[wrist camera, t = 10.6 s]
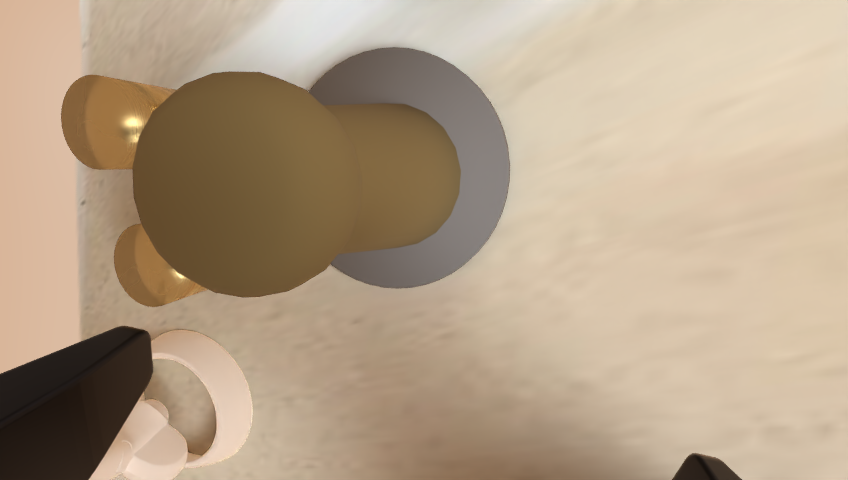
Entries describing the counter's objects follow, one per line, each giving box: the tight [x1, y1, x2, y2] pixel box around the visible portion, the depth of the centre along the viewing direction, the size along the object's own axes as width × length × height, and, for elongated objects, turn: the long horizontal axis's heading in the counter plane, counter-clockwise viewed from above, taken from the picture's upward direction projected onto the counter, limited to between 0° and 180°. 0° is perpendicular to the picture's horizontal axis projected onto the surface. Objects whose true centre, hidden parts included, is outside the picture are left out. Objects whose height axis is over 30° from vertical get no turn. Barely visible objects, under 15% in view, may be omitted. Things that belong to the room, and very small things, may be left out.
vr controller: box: [89, 330, 253, 480], centre depth 22 cm, size 8×12×7 cm
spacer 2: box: [114, 224, 208, 307], centre depth 22 cm, size 4×4×4 cm
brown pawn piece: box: [133, 72, 461, 297], centre depth 15 cm, size 6×6×11 cm
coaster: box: [309, 47, 510, 288], centre depth 20 cm, size 10×10×1 cm
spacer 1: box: [61, 75, 176, 169], centre depth 21 cm, size 4×4×5 cm
